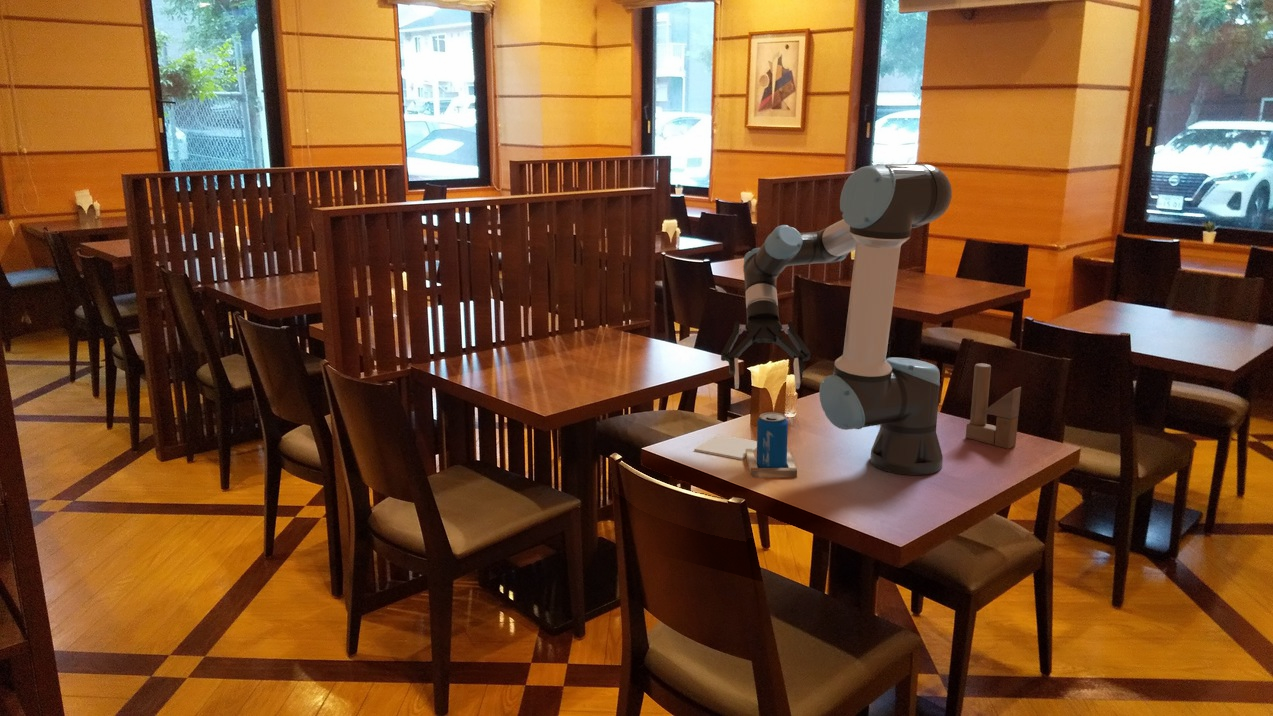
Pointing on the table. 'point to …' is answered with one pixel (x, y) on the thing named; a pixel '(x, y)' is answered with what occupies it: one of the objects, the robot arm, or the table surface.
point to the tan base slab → (770, 472)
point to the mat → (727, 446)
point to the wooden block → (992, 412)
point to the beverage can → (772, 440)
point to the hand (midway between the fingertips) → (767, 386)
